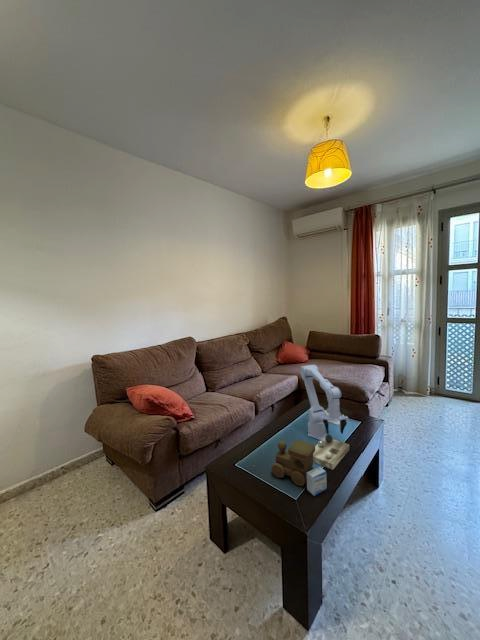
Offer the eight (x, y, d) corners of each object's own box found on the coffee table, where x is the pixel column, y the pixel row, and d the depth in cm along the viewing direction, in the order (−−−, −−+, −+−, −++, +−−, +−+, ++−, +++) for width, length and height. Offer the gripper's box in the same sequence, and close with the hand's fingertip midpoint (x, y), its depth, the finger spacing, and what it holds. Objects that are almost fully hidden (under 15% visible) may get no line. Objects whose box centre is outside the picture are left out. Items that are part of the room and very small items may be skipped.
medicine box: (313, 496, 111) (313, 477, 110) (306, 490, 115) (306, 471, 114) (327, 489, 115) (326, 471, 114) (319, 483, 119) (319, 465, 118)
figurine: (313, 416, 182) (314, 395, 180) (326, 409, 195) (327, 388, 192) (340, 429, 168) (342, 405, 166) (352, 419, 180) (354, 397, 178)
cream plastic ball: (324, 457, 132) (324, 452, 132) (326, 454, 135) (326, 449, 134) (330, 459, 130) (329, 454, 130) (332, 457, 133) (332, 451, 132)
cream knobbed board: (307, 459, 137) (307, 453, 136) (325, 441, 153) (325, 436, 152) (332, 470, 127) (332, 464, 127) (349, 449, 143) (349, 444, 143)
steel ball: (316, 446, 143) (316, 441, 142) (319, 443, 145) (319, 438, 145) (322, 448, 140) (322, 443, 140) (324, 445, 143) (324, 440, 143)
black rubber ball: (324, 442, 147) (323, 435, 146) (327, 439, 150) (326, 432, 149) (330, 444, 144) (330, 437, 144) (333, 441, 147) (333, 434, 146)
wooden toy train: (317, 476, 123) (316, 443, 122) (308, 491, 114) (307, 456, 113) (279, 463, 135) (278, 432, 134) (269, 475, 126) (267, 443, 124)
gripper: (322, 412, 139) (322, 436, 140) (349, 412, 137) (350, 436, 138) (319, 407, 146) (320, 429, 147) (345, 406, 144) (346, 429, 145)
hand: (334, 432), depth 143 cm, fingers open, 7 cm apart
